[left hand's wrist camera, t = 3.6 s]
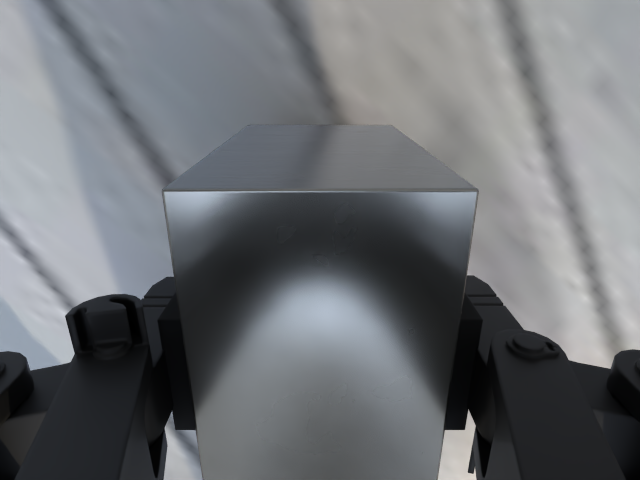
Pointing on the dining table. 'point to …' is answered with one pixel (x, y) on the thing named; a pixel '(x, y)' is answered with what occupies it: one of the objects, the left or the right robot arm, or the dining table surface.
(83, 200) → the dining table surface
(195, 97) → the dining table surface
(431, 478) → the bar
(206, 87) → the dining table surface
